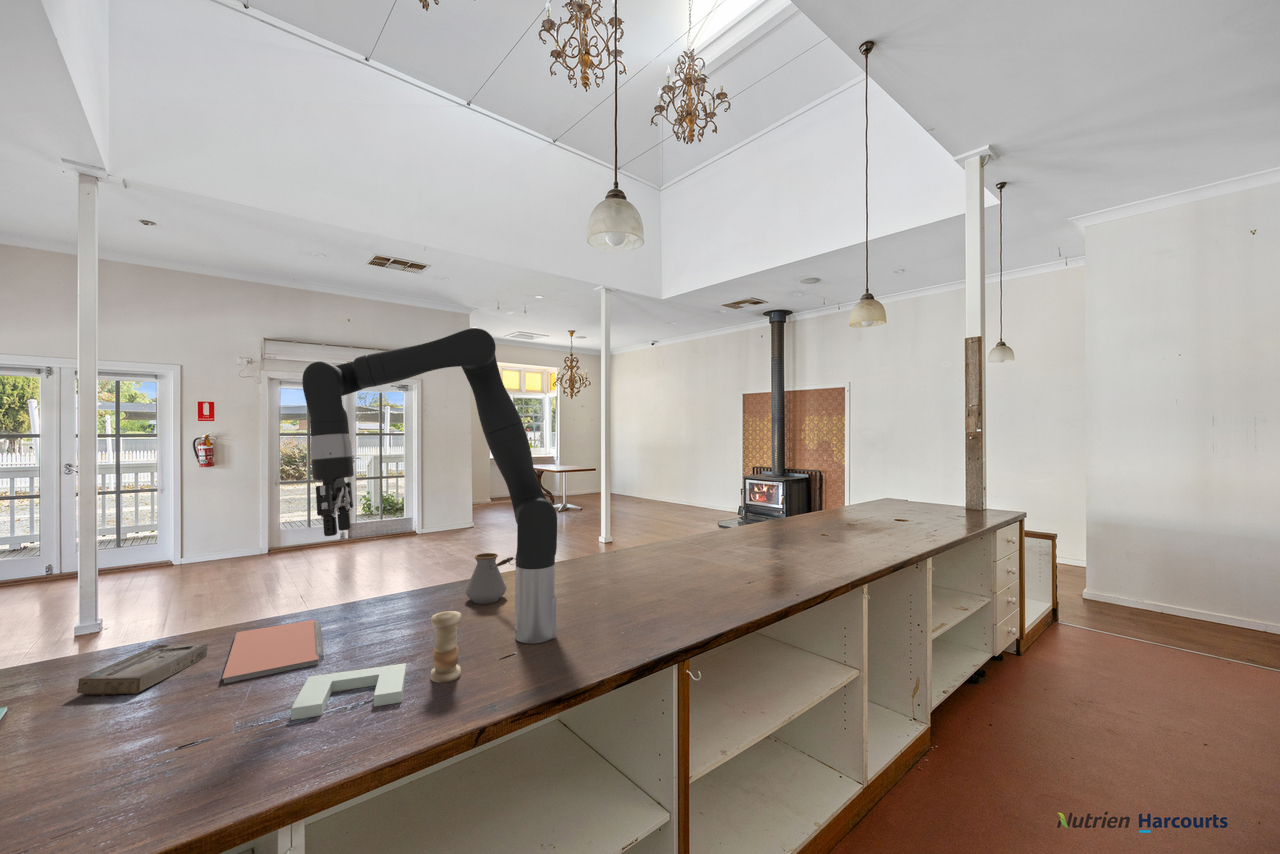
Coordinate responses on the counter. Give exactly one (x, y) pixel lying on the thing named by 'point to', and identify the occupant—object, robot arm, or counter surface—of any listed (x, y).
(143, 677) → the box
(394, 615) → the counter surface
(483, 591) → the coffee pot
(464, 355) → the robot arm
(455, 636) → the bobbin
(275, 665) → the notebook
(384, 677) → the notched board
